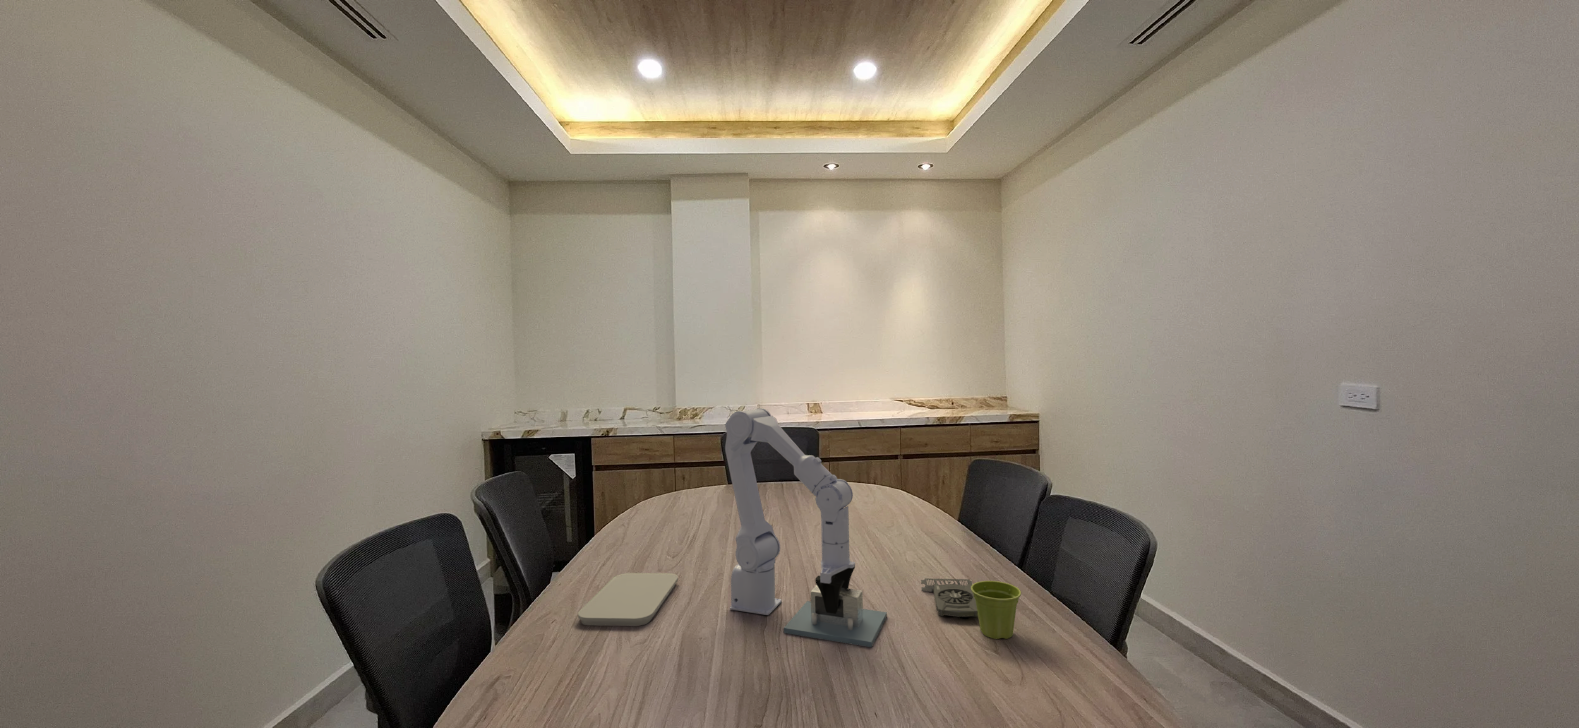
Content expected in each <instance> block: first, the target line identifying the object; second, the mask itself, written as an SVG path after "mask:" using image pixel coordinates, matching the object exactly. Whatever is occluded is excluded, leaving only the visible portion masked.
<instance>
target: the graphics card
mask: <svg viewBox="0 0 1579 728" xmlns="http://www.w3.org/2000/svg"><path fill="white" fill-rule="evenodd" d="M946 581H947V583H948V584H947V583H946ZM920 582H921V585H924V587H923V586H921V591H922V592H931V593H932V594H933V595H934V603H935V608H936V612H937V614H938V615H939V616H944V615H945V616H953V617H958V618H959V619H962V620H963V619H964V620H969V617H976V618H978V612H977V606H976V601H975V598H974V594H973V592H972V591H971V586H972V585H973V580H972V578H971V579H968V578H967V579H961V578H932V577H931V578H929V577H928V578H926V577H925V578H924V579H921V580H920ZM942 582H943V583H942ZM952 582H953V583H952ZM956 583H957V584H956Z"/></svg>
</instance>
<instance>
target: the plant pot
mask: <svg viewBox="0 0 1579 728" xmlns="http://www.w3.org/2000/svg"><path fill="white" fill-rule="evenodd" d="M971 591H972V592H973V594H974V598H975V601H976V606H977V612H978V617H977V618H978V623H979V628H980V629H979V631H981V633H982V634H983V635H984V636H985V637H988V638H991V639H994V640H999V639H1005V640H1007V639H1010V638H1012V637H1013V635H1014V629H1015V620H1016V612H1017V606H1018V603H1019V598H1020V597H1022V591H1021V590H1020V588H1019V587H1017V586H1015V585H1013V584H1011V583H1007V582H1004V581H997V580H983V581H982V580H981V581H977V582H975V583H972V586H971Z"/></svg>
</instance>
